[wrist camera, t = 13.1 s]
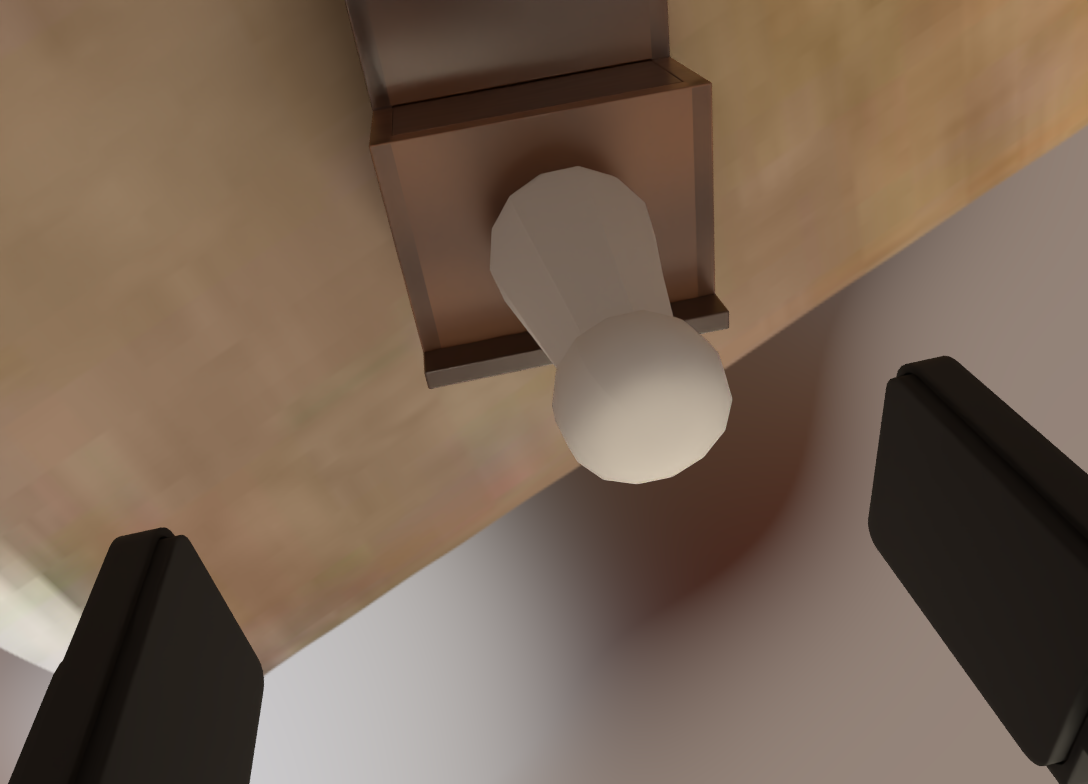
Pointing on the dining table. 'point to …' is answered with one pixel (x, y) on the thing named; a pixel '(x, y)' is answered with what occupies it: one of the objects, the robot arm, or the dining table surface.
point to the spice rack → (527, 151)
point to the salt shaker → (608, 327)
